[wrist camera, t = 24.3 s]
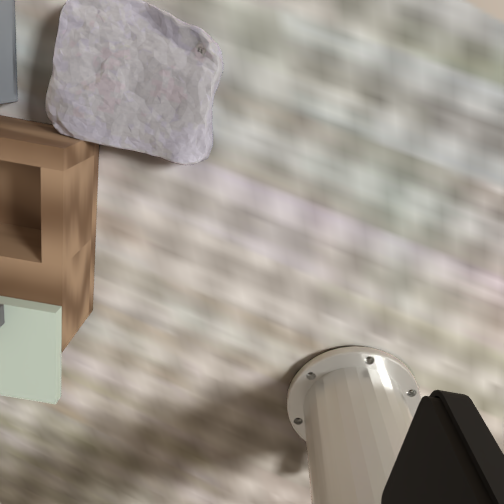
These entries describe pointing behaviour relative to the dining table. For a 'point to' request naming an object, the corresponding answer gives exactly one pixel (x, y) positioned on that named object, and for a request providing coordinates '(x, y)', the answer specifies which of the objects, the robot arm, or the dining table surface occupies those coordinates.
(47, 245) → the brown open box
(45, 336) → the sliding lid
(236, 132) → the dining table surface
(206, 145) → the stone block
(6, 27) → the gray tray
